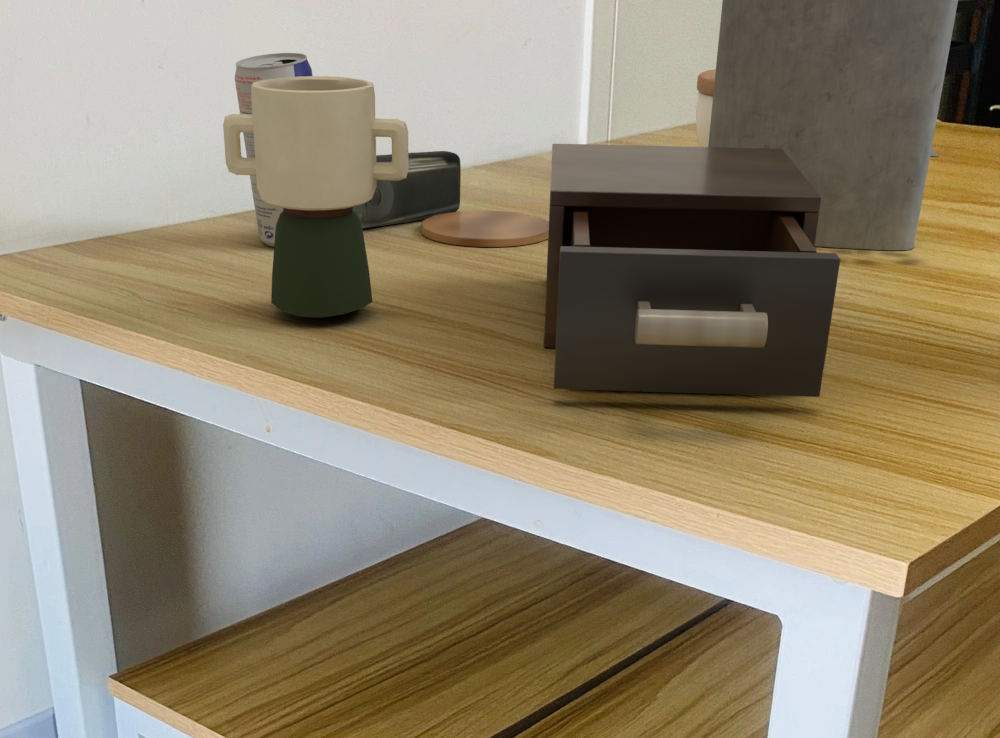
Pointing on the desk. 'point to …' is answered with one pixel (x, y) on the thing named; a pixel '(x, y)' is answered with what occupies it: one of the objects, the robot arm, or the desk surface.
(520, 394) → the desk surface
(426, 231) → the coaster
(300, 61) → the energy drink
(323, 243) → the beige green vessel
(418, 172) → the dark grey stapler
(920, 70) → the grey upright slab
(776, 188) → the cabinet
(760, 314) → the drawer
